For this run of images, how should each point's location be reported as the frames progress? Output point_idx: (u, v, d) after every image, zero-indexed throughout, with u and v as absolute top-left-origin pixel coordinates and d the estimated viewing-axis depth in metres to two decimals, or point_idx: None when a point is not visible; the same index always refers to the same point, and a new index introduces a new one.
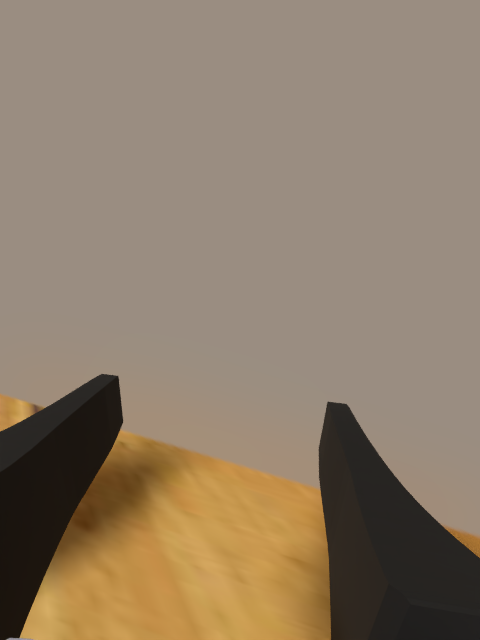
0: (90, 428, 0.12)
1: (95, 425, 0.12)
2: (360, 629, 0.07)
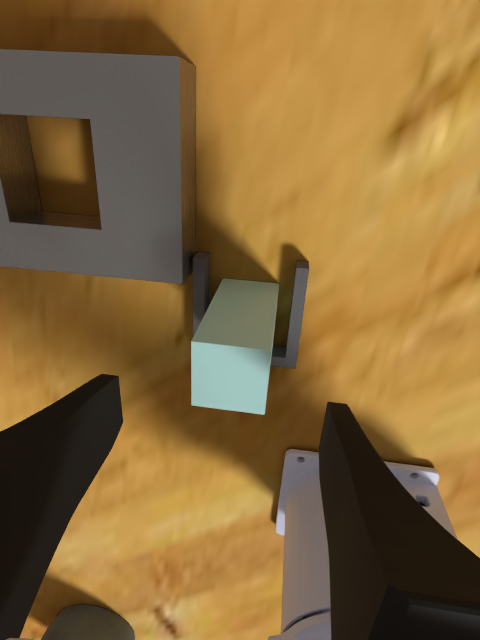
0: (90, 428, 0.12)
1: (95, 425, 0.12)
2: (360, 629, 0.07)
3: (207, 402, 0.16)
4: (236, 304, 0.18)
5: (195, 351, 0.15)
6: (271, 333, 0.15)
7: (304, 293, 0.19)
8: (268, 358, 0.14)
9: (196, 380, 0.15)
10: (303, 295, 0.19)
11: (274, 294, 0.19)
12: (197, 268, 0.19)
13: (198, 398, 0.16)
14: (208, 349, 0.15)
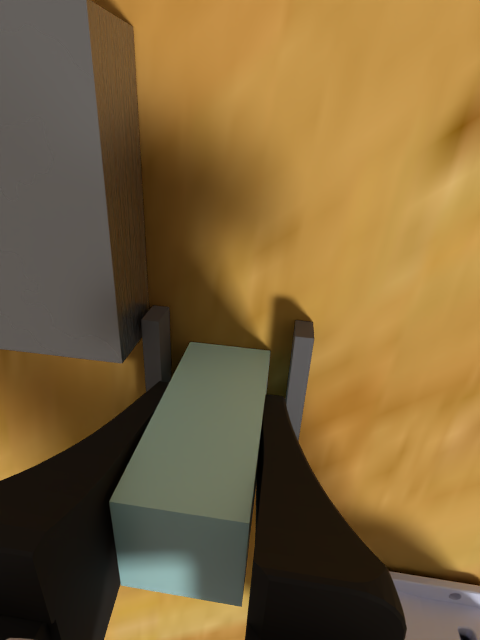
0: None
1: None
2: (248, 609, 0.07)
3: (146, 583, 0.09)
4: (201, 398, 0.12)
5: (118, 516, 0.08)
6: (252, 472, 0.09)
7: (307, 371, 0.13)
8: (245, 533, 0.08)
9: (125, 554, 0.09)
10: (305, 374, 0.13)
11: (263, 374, 0.13)
12: (148, 333, 0.13)
13: (131, 578, 0.09)
14: (140, 515, 0.08)
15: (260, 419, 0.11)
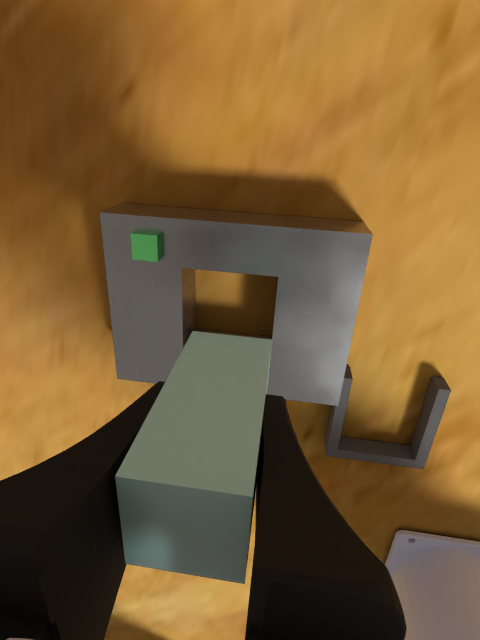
0: None
1: None
2: None
3: (150, 561, 0.10)
4: (205, 383, 0.12)
5: (124, 491, 0.09)
6: (255, 450, 0.09)
7: (443, 409, 0.21)
8: (248, 507, 0.08)
9: (130, 531, 0.09)
10: (441, 411, 0.21)
11: (265, 360, 0.13)
12: (344, 385, 0.21)
13: (135, 556, 0.10)
14: (145, 489, 0.09)
15: (262, 402, 0.11)
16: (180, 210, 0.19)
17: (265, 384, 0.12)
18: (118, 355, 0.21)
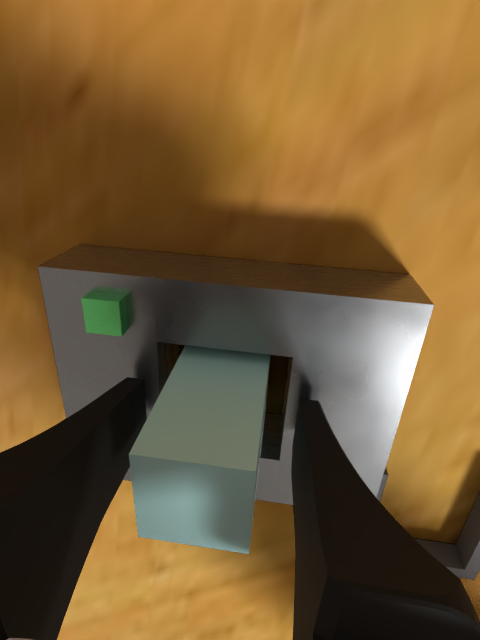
0: (119, 432, 0.12)
1: (123, 429, 0.12)
2: (309, 620, 0.07)
3: (161, 534, 0.10)
4: (210, 370, 0.12)
5: (137, 467, 0.09)
6: (258, 430, 0.10)
7: None
8: (252, 481, 0.09)
9: (142, 505, 0.10)
10: None
11: None
12: None
13: (147, 529, 0.10)
14: (157, 466, 0.09)
15: (264, 387, 0.12)
16: (156, 258, 0.14)
17: (267, 371, 0.13)
18: None
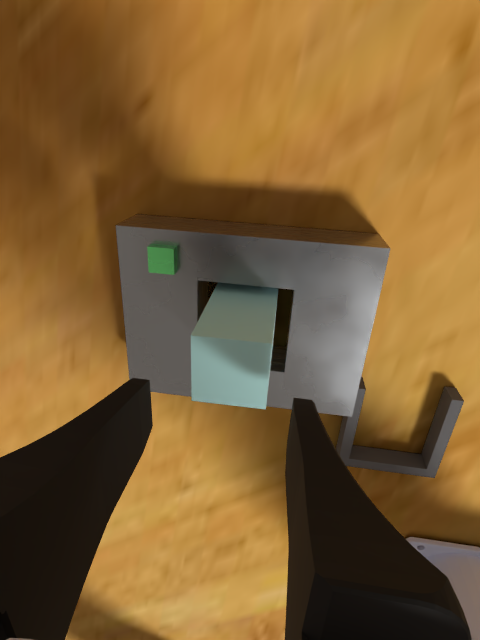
0: (125, 433, 0.12)
1: (129, 430, 0.12)
2: (299, 618, 0.07)
3: (207, 397, 0.16)
4: (236, 298, 0.18)
5: (195, 345, 0.15)
6: (272, 326, 0.15)
7: (455, 419, 0.21)
8: (269, 351, 0.14)
9: (196, 375, 0.15)
10: (454, 421, 0.21)
11: (275, 288, 0.19)
12: (357, 396, 0.21)
13: (198, 393, 0.16)
14: (208, 343, 0.14)
15: (275, 307, 0.17)
16: (195, 222, 0.19)
17: (276, 299, 0.18)
18: (132, 366, 0.21)
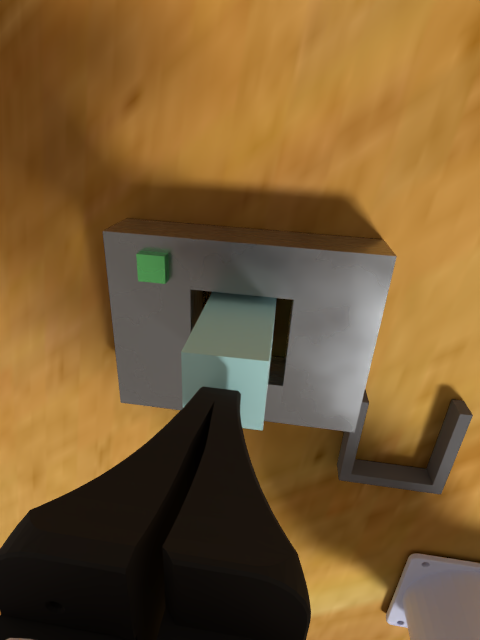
0: (204, 444, 0.11)
1: (207, 440, 0.12)
2: None
3: None
4: (231, 309, 0.17)
5: (186, 362, 0.13)
6: (269, 341, 0.14)
7: (463, 434, 0.20)
8: (266, 370, 0.13)
9: (187, 394, 0.14)
10: (462, 436, 0.20)
11: None
12: None
13: None
14: (200, 361, 0.13)
15: (272, 319, 0.16)
16: (188, 227, 0.18)
17: (274, 310, 0.17)
18: (122, 378, 0.20)
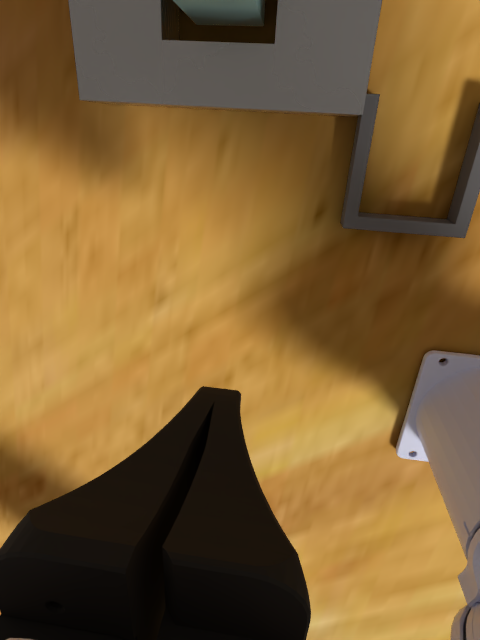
0: (205, 444, 0.11)
1: (207, 440, 0.12)
2: None
3: None
4: None
5: None
6: None
7: None
8: None
9: None
10: None
11: None
12: (368, 107, 0.17)
13: None
14: None
15: None
16: None
17: None
18: (79, 58, 0.16)
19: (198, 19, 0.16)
